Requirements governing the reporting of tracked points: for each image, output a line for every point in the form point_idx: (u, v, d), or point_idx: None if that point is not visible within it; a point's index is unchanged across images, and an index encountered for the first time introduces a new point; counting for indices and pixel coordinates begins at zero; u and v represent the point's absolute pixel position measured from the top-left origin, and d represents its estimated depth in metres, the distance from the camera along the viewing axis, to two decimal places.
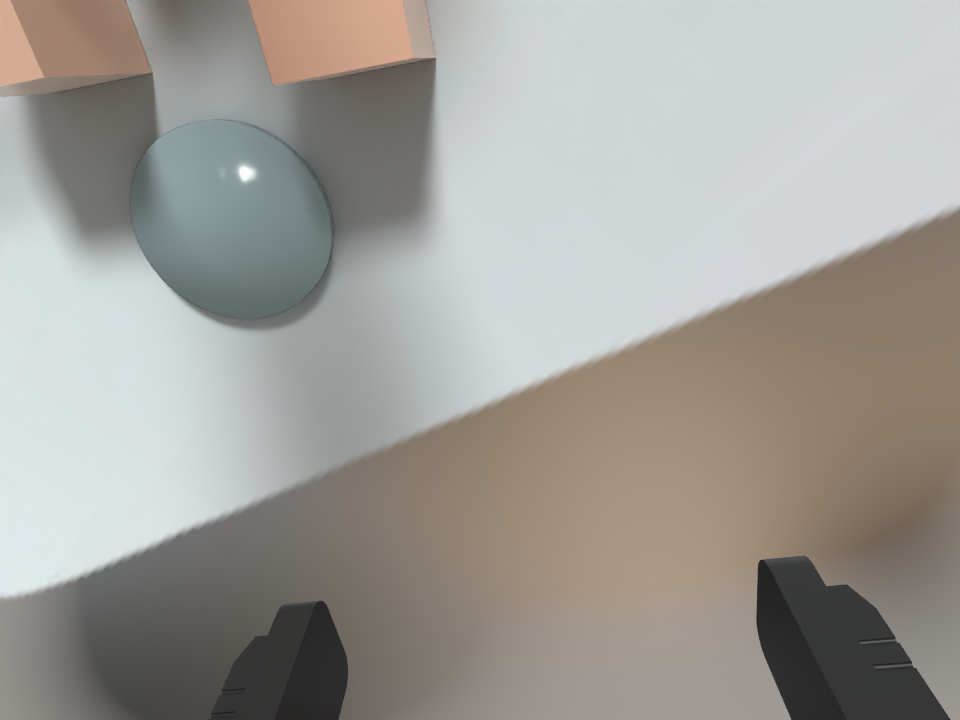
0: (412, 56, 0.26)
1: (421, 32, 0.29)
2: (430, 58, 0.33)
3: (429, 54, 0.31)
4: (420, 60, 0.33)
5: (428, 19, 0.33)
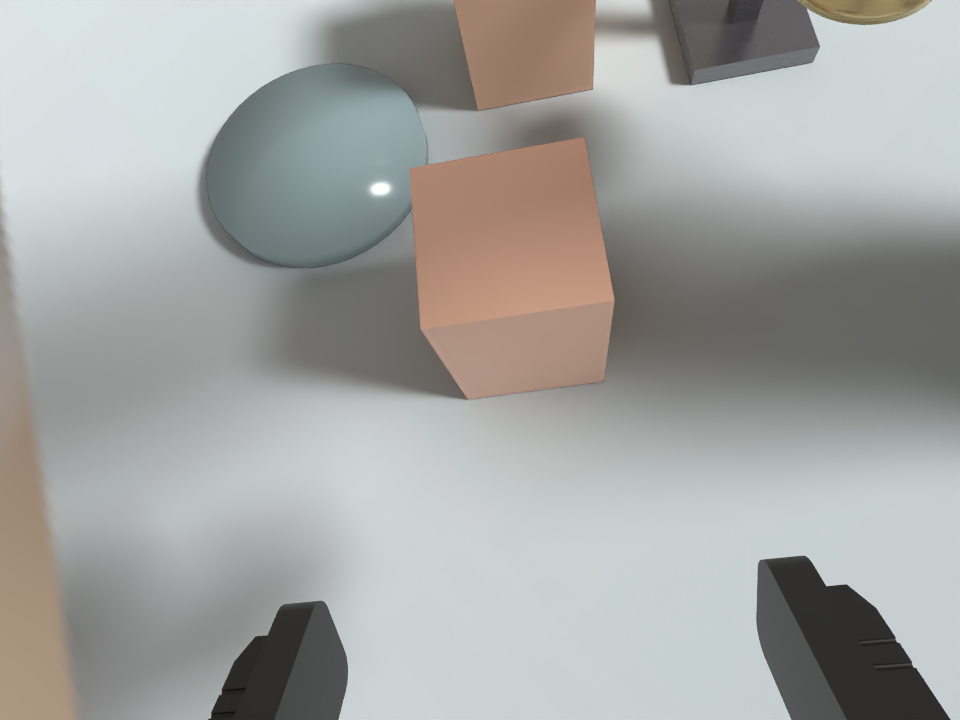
0: (422, 328, 0.20)
1: (475, 366, 0.24)
2: None
3: (459, 381, 0.26)
4: None
5: (507, 392, 0.28)
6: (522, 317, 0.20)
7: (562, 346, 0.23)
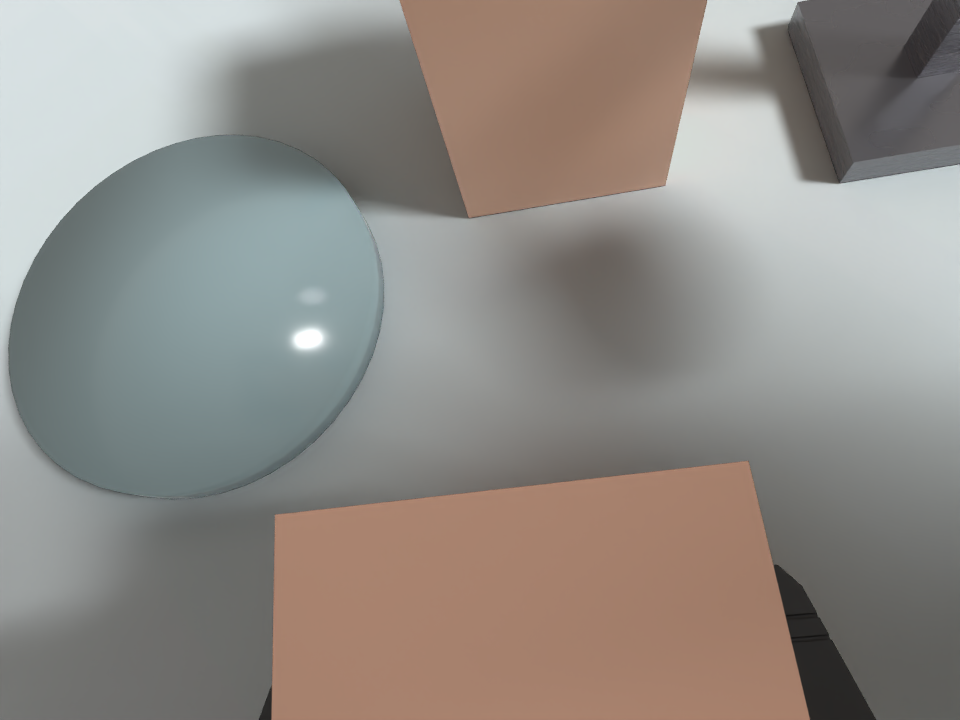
0: None
1: None
2: None
3: None
4: None
5: None
6: None
7: None
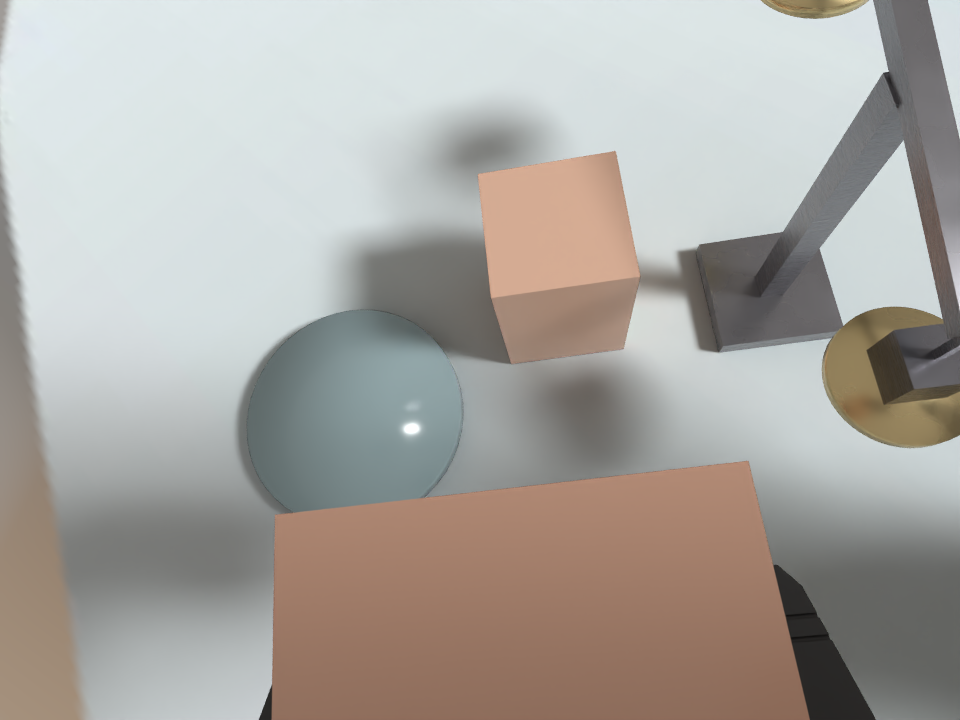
0: None
1: None
2: None
3: None
4: None
5: None
6: None
7: None
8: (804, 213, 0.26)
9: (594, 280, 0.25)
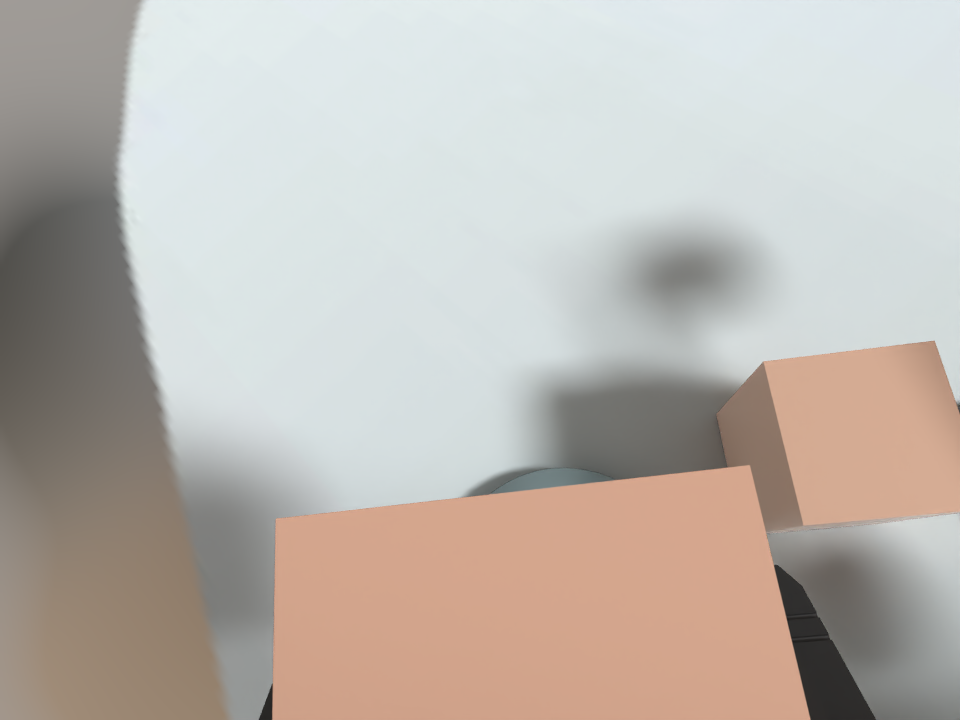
0: None
1: None
2: None
3: None
4: None
5: None
6: None
7: None
8: None
9: (932, 509, 0.21)
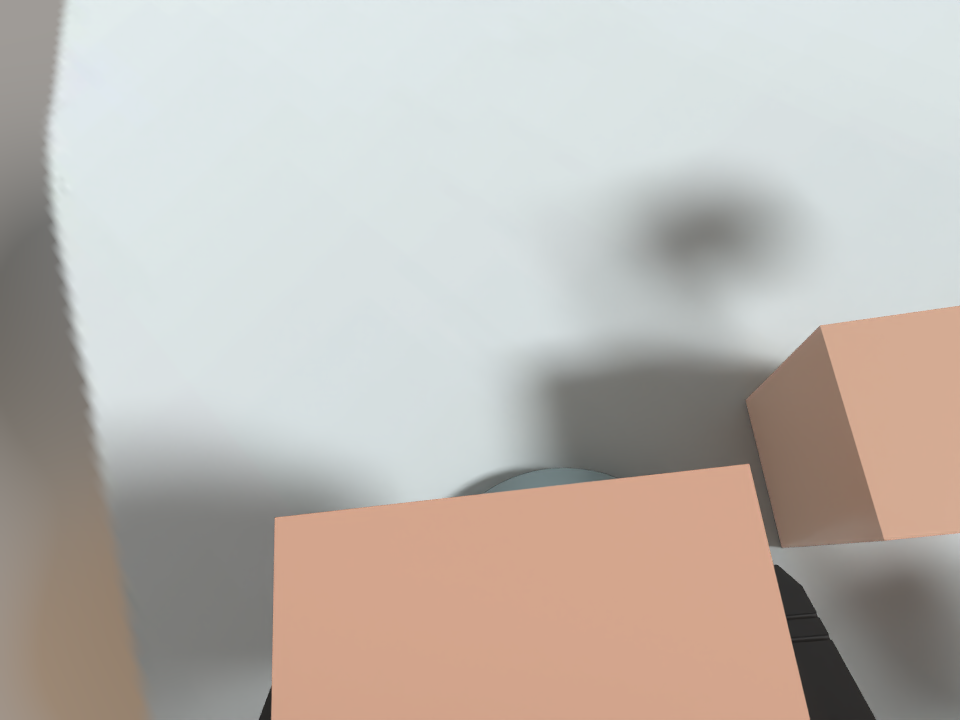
0: None
1: None
2: None
3: None
4: None
5: None
6: None
7: None
8: None
9: None
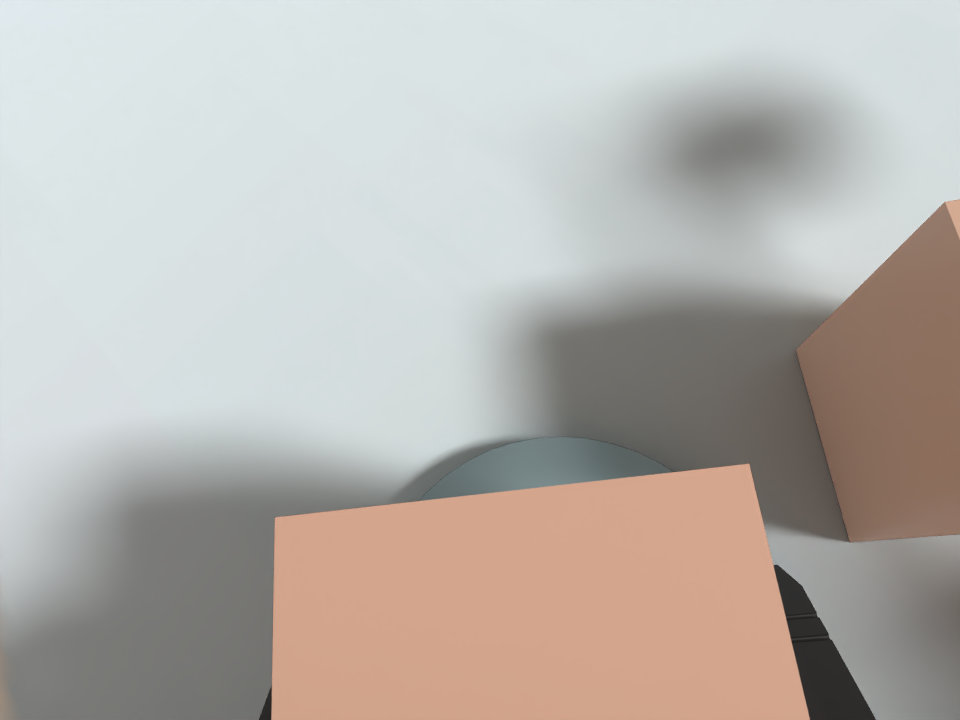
0: None
1: None
2: None
3: None
4: None
5: None
6: None
7: None
8: None
9: None
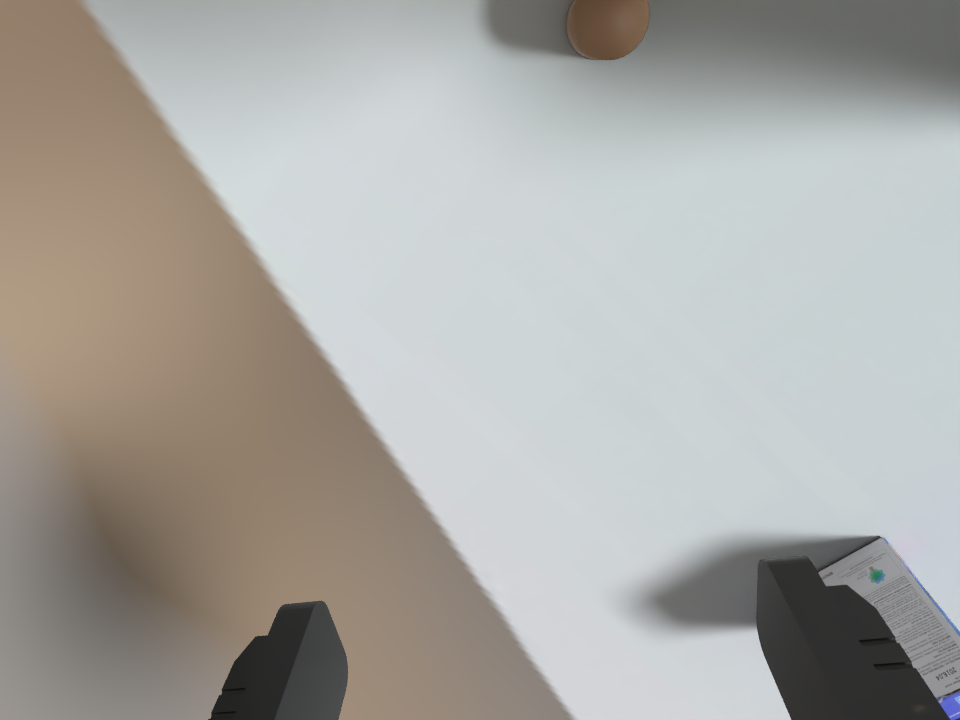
0: None
1: None
2: None
3: None
4: None
5: None
6: None
7: None
8: None
9: None
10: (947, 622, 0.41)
